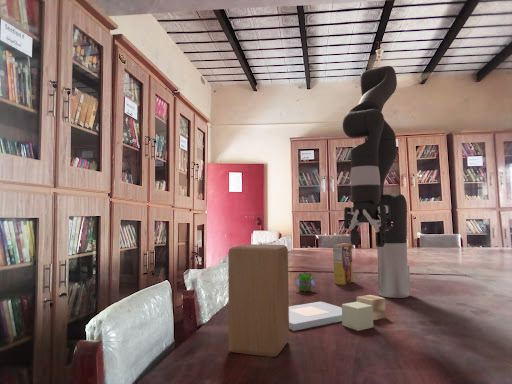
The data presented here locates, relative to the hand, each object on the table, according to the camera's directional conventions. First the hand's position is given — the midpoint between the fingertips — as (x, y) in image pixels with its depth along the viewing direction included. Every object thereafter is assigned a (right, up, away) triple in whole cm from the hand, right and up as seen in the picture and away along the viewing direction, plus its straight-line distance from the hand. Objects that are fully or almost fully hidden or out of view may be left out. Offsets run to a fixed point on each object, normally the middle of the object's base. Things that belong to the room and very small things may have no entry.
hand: (367, 245), depth 95 cm
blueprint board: (-16, -18, -2) cm, 24 cm away
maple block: (+1, -18, -2) cm, 18 cm away
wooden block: (-29, -17, -23) cm, 41 cm away
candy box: (+5, -22, +47) cm, 53 cm away
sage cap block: (-5, -18, -10) cm, 21 cm away
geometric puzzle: (-12, -21, +32) cm, 40 cm away
